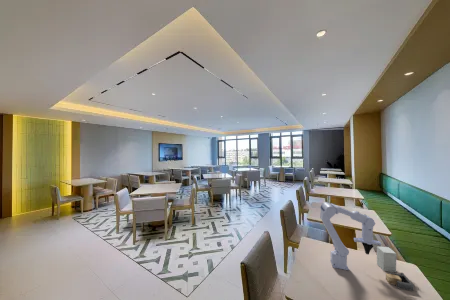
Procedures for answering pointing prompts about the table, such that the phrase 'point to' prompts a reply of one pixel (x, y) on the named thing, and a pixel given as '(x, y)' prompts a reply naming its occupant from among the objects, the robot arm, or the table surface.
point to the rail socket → (406, 283)
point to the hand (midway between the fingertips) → (366, 253)
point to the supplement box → (386, 259)
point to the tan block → (392, 279)
